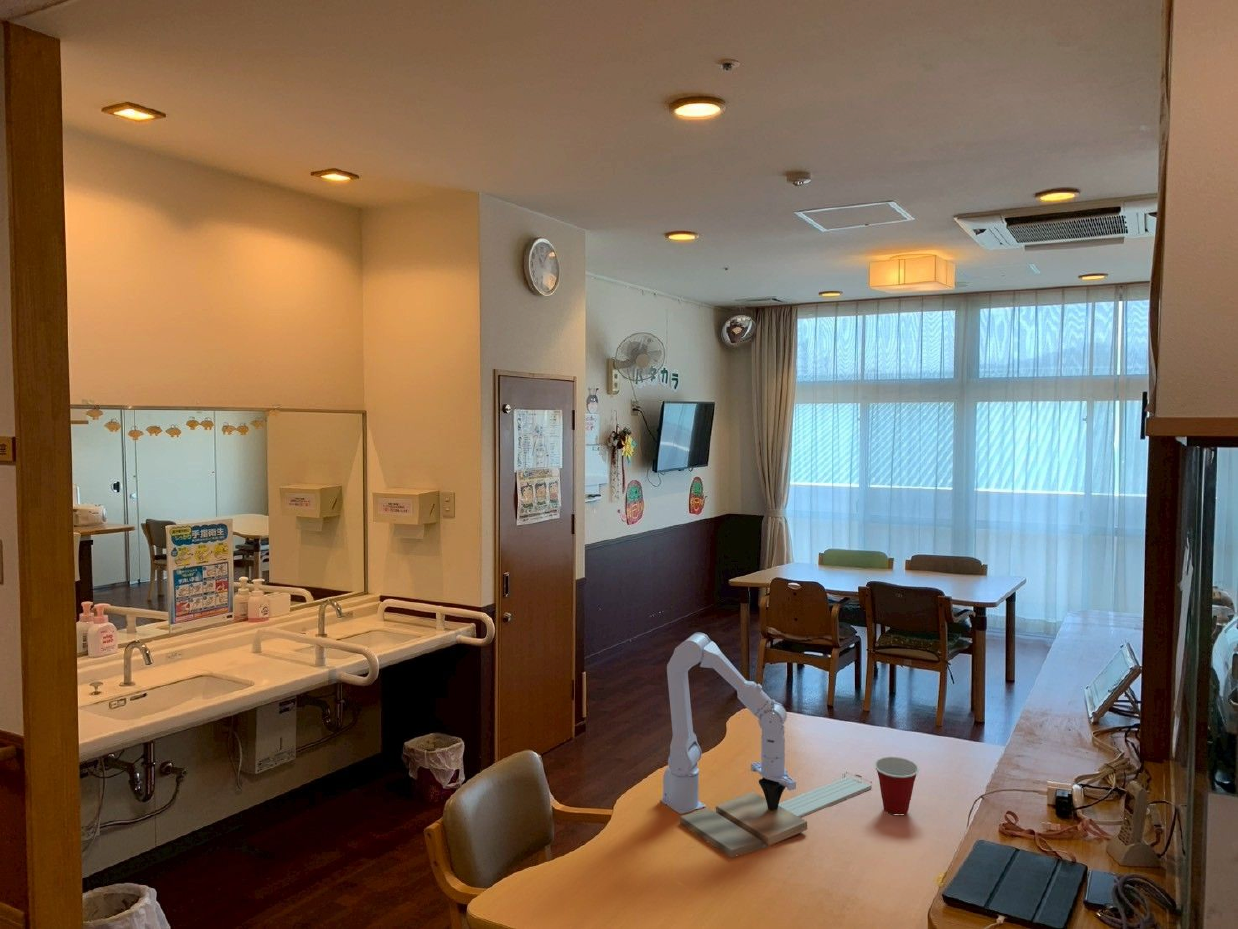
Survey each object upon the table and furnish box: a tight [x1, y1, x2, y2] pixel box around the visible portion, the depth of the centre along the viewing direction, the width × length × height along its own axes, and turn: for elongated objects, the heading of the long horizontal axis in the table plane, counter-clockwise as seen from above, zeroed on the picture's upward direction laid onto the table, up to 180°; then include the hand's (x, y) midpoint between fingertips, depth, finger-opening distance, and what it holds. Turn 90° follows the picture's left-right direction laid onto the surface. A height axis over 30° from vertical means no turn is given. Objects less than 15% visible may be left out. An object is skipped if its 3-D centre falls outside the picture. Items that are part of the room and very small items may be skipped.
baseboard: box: [778, 771, 873, 818], centre depth 236 cm, size 30×3×10 cm
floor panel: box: [679, 808, 768, 859], centre depth 214 cm, size 20×10×2 cm, turn 31°
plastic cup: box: [874, 756, 920, 815], centre depth 228 cm, size 11×11×12 cm
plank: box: [715, 790, 808, 846], centre depth 220 cm, size 20×12×2 cm, turn 31°
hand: (772, 808), depth 222 cm, fingers closed, pressing on plank
